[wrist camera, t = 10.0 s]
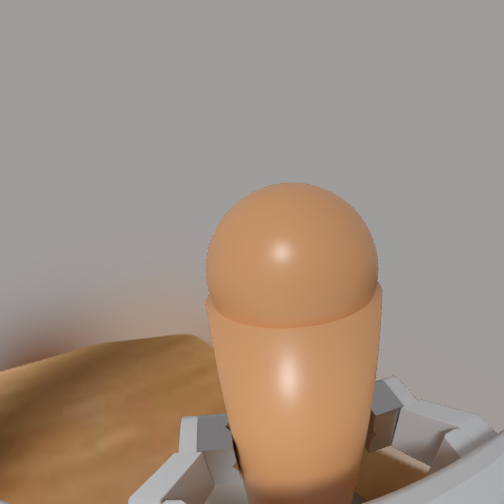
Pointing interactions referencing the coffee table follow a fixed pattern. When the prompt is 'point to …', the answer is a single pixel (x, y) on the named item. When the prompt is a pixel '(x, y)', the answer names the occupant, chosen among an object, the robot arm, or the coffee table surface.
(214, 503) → the metal mounting plate
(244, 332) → the tan rounded rod
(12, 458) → the coffee table surface
